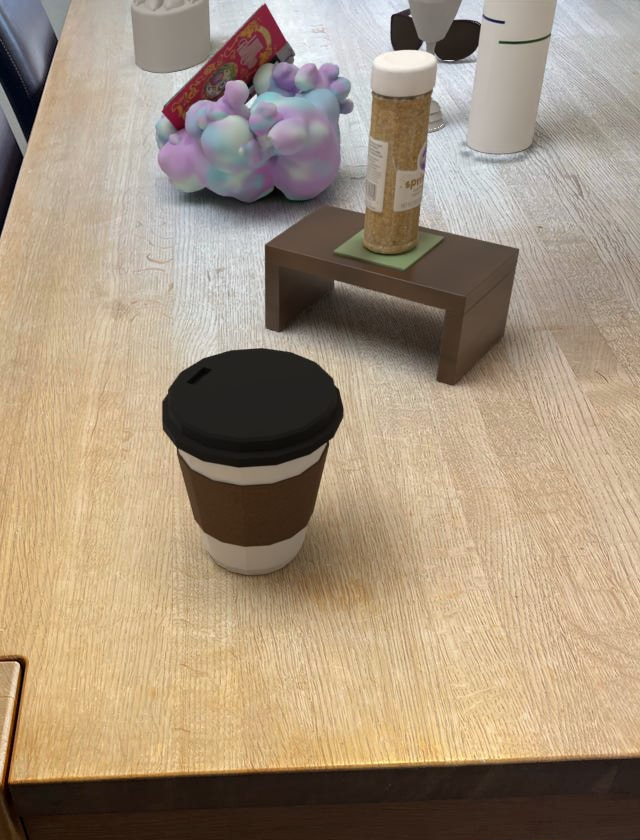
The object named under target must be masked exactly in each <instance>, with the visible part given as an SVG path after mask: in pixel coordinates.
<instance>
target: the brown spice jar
mask: <svg viewBox="0 0 640 840" xmlns="http://www.w3.org/2000/svg"><path fill="white" fill-rule="evenodd" d="M437 72H438V58H437V56H436V55H435V56H434V55H432V54H430V53H428V52H426V51H423V50H400V51H395V50H393V51H388V52H384V53H381V54H380V55H378V56H376V57H374V59H373V60H372V64H371V73H370V86H369V87H370V89H371V92H370V93H371V97H372V99H371V111H370V112H371V113H370V127H369V133H368V141H367V142H368V144H367V162H366V177H365V194H364V204H365V212H364V213H365V223H364V233H363V236H362V243H363V245H364V246H365V247H366V248H367V249H369V250H371V251H373V252H375V253H382V254H397V253H402V252H405V251H408V250H411V249H412V248H413V247H415V246H416V245H417V243H418V242H419V233H418V228H419V226H420V216H421V205H422V201H423V194H424V184H425V183H424V182H425V172H426V163H427V153H428V141H429V140H428V134H429V132H428V125H429V114H430V105H431V97H432V95H433V93H434V90H433V89H434V88H435V86H436V83H437V82H436V81H437Z"/></svg>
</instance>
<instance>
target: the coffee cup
mask: <svg viewBox="0 0 640 840" xmlns="http://www.w3.org/2000/svg"><path fill="white" fill-rule="evenodd" d="M344 411H345V409H344V405H343V400H342V395H341V391H340V388H339V387H338V386H336V384H335V380H334V377H333V376H331V374H329V373H328V372H327V371H326V370H325V369H324V368H323V367H322V366H321V365H320V364H319V363H318V362H316V361H314V360H312V359H310V358H307V357H304V356H302V355H299V354H297V353H294V352H292V351H287V350H280V349H272V348H271V349H270V348H266V347H265V348H263V347H255V348H242V349H230V350H227V351H223V352H220V353H217V354H213V355H210V356H206V357H203V358H201V359H199V360H198V361H195V362H194V363H192V364H191V365H190V366H188V367H187V368H185V369H183V370H181V371H180V372H179V373H178V375H177V376H176V378H175V379H174V380H173V382H172V383H171V385H170V386H169V387H168V389H167V394H166V395H165V397H164V398H163V399H162V401H161V425H162V431H163V432H164V433H165V435H166V436H167V437H168V439H169V440H170V441H171V443H172V444H173V445H174V446H175V447H176V448H175V449H176V456H177V460H178V464H179V467H180V471H181V475H182V478H183V482H184V486H185V490H186V494H187V496H188V497H187V498H188V501H189V505H190V508H191V512H192V516H193V519H194V521H195V523H197V525H198V528H199V531H200V535H201V538H202V543H203V546H204V548H205V549H206V551H207V552H208V553H209V554H210V556H211V557H212V559H213V560H214V562H215V563H216V564H217V565H219V566H220V567H222V568H223V569H226V570H227V571H229V572H230V573H235V574H239V575H244V576H256V575H257V576H258V575H268V574H270V573H273V572H275V571H276V572H277V571H279V570H281V569H283V568H284V567H285V566H287V565H288V564H290V563H291V562H292V561H293V560H294V559H295V558H296V556H297V554H298V553H299V551H300V549H301V547H302V545H303V543H304V541H305V538H306V534H307V529H308V526H309V523H310V520H311V518H312V516H313V514H314V512H315V508H316V503H317V499H318V495H319V492H320V491H319V490H320V487H321V482H322V478H323V473H324V469H325V465H326V460H327V457H328V453H329V448H330V441H331V440H332V439H333V438H334V437H335V436H336V433H337V432H338V430H339V427H340V426H341V423H342V421H343V419H344V416H345V415H344V414H345V413H344Z"/></svg>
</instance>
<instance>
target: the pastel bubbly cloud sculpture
mask: <svg viewBox="0 0 640 840" xmlns="http://www.w3.org/2000/svg"><path fill="white" fill-rule="evenodd" d="M295 56H296V52H295V51H294V49H293V47H292V46H291V44H290V43H289V41H288V40H287V39H286V37H285V35H284V33H283V32H282V29H281V28H280V26H279V25H278V23H277V20H275V18H274V16H273V14H272V12H271V10H270V8H269V7H268V5H267V3H266V2H263V3H262V4H261V5H260V6H259V7H258V8H257V10H256V11H254V12H253V13H252V14H251V15H250V16H249V17H248V19H246V21H245V22H243V24H242V25H241V26H240V27H239V28H238V29H237V30H236V31H235V32H234V33H233V34H232V36H231V37H229V39H227V40H226V42H225V43H223V45H222V46H221V47H220V48H219V49H218V50H217V51H216V52H215V53H214V54H213V55H212V56H211V57H210V58H209V60H207V61H206V62H205V63H204V65H202V66H201V68H200V69H199V70H198V71H197V72H196V73H195V74H194V75H193V76H192V77H191V78H190V79H189V80H188V81H187V82H186V83H185V84H184V85H182V87H181V88H180V89H178V91H177V92H176V93H175V94H174V95H173V96H172V97H171V98H170V99H169V100H168V101H167V102H166V103H164V105H163V108H161V109H160V112H161V113H162V114H161V116H160V119H158V120H157V121H156V123H155V125H154V127H155V128H154V129H155V134H154V137H155V138H154V139H155V142H156V145H157V148H158V153H157V163H158V166H159V168H160V170H161V171H162V172H163V173H164V174H165V175H166V176H167V178H168V180H169V182H170V184H171V185H172V186H173V187H174V188H175V189H177V190H178V191H181V192H183V193H194V192H195V193H196V192H199V191H201V190H203V189H205V188H206V189H208V190H210V191H211V192H213V193H214V194H216V195H219V196H222V197H232V198H234V199H236V200H238V201H241V202H243V203H249V204H251V203H254V202H256V201H258V200H260V199H261V198H264V197H267V196H268V195H270V194H271V193H272V192H273V191H274V190H275V187H276V189H278V190H279V191H281V192H282V193H283V194H284V197H285V198H286V199H288V200H291V201H309V200H313V199H315V198H316V197H318V196H319V195H320V194H321V193H322V192H323V191H325V190H326V189H328V187H329V186H331V184H332V183H333V182H334V180H335V178H336V177H337V175H338V174H337V173H338V172H339V168H340V166H341V162H342V160H341V159H342V156H341V155H342V154H341V141H342V140H341V131H340V123H339V122H340V115H348V114H351V113H352V112H353V110H354V108H355V105H354V104H355V103H354V100H352V99H350V98H348V97H349V95H350V93H351V90H352V83H351V81H350V80H349V79H348V78H347V77H345V76H339V75H340V67H339V65H338V64H334V63H332V62H324V63H322V64H321V65H320V67H319V68H318V67H317V65H316V64H315V63H314V62H307V63H305V64H304V65H302V66H301V67H300V68H299V66H297V65H295V64H294V63H295V58H294V57H295ZM255 96H256V98H255V99H254V100H253V103H252V104H251V106H250V107H248V106H247V103H249V102H250V101H251V100H252V99H253V98H254V97H255Z"/></svg>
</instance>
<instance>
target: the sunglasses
mask: <svg viewBox="0 0 640 840" xmlns="http://www.w3.org/2000/svg"><path fill="white" fill-rule="evenodd" d="M389 27H390V30H389V32H390V33H389V34H390V35H389V37H390V44H391V47H392V49H393V51H400V50H418V51H420V49H421V48H422V46H423V44H424V43H425V41H423V40H421V39H419V37H418V34H417V31H416V28H415V25H414V22H413V19H412V16H411V12H410V7H409V8H406V9H403V10H401V11H398V12H396V13H393V14H391V16H390V25H389ZM480 30H481V22H479V21H477V20H474V19H464V18H463V19H461V18H459V19H454V20H453V22H452V24H451V26H450V28H449V30H448V32H447V33H446V35H445V37H444V38H443V39H442V40H440V41H437V42H436V45H435V48H434V54H435V57H436V58H437V59H439V60H440V61H443V60H455V61H454V62H458V61H462V60H464V59H467V58H468V57H470V56H472V55H473V54H474V53H475V52H476V51H477V50H478V45H479V37H480Z"/></svg>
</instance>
